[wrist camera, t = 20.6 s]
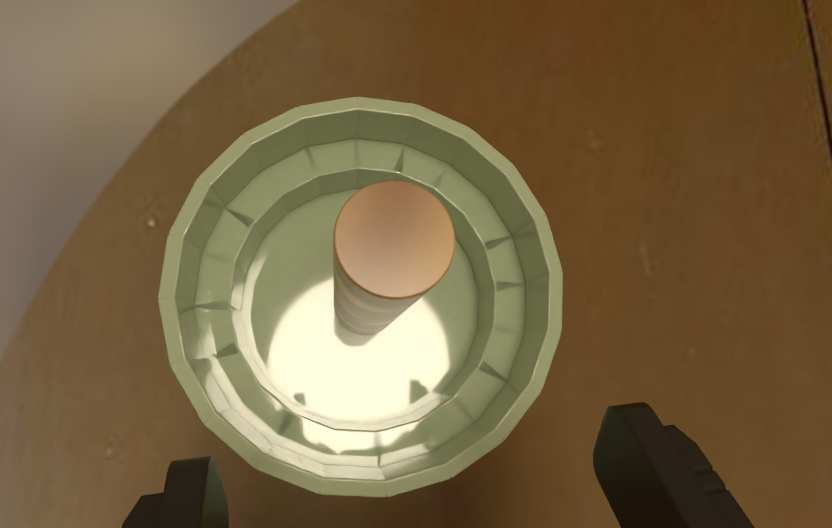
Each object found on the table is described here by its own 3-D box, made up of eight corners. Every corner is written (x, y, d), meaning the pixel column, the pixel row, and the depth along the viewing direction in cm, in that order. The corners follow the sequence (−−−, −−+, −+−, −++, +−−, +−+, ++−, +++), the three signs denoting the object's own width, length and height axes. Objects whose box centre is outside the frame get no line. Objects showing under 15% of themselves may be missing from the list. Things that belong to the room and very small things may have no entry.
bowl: (178, 458, 26) (128, 486, 20) (223, 139, 29) (191, 74, 22) (507, 475, 28) (558, 505, 21) (518, 173, 31) (566, 122, 24)
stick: (330, 332, 27) (327, 294, 14) (337, 270, 28) (339, 172, 14) (394, 337, 28) (452, 304, 14) (398, 275, 28) (459, 185, 15)
